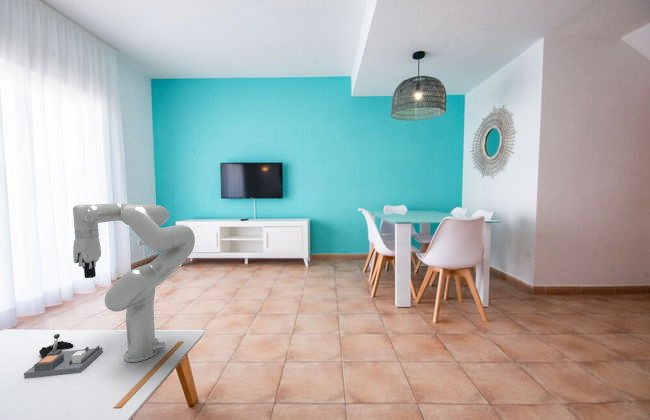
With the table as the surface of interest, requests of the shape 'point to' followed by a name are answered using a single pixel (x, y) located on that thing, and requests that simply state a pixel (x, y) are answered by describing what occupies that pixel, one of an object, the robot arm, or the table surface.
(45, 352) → the game controller
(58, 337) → the toggle lever
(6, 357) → the table surface
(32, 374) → the control panel
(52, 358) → the push button
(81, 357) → the slide switch
